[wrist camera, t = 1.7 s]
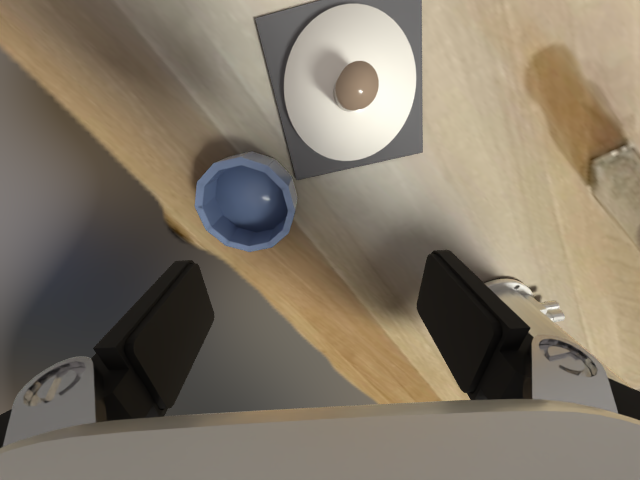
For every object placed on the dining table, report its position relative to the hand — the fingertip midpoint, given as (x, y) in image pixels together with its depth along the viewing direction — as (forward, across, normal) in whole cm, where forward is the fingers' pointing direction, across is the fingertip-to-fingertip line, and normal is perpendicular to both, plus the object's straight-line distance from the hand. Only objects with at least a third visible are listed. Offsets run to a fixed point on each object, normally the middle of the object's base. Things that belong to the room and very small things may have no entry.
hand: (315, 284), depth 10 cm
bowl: (+23, +8, +3) cm, 24 cm away
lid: (+22, -4, -8) cm, 24 cm away
